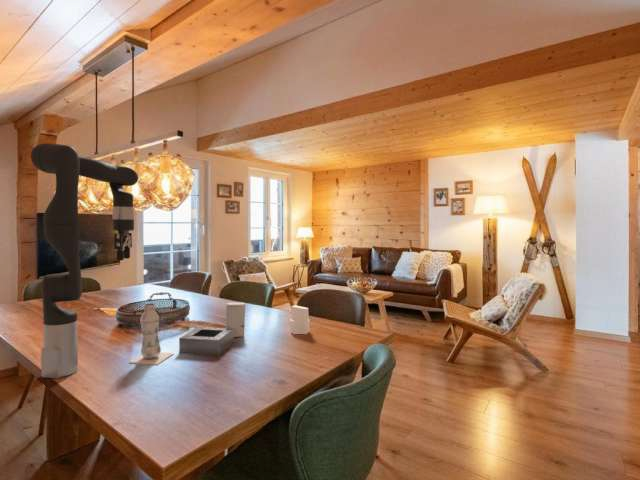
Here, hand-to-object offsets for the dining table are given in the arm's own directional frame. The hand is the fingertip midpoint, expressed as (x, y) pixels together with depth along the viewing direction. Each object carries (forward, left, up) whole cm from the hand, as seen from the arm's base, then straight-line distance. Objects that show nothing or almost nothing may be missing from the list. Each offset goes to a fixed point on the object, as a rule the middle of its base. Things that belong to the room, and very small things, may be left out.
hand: (123, 259), depth 145 cm
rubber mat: (-8, -17, -36) cm, 41 cm away
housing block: (+7, -32, -36) cm, 49 cm away
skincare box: (+25, -37, -36) cm, 58 cm away
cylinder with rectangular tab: (+35, -65, -36) cm, 82 cm away
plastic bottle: (-8, -17, -36) cm, 40 cm away
